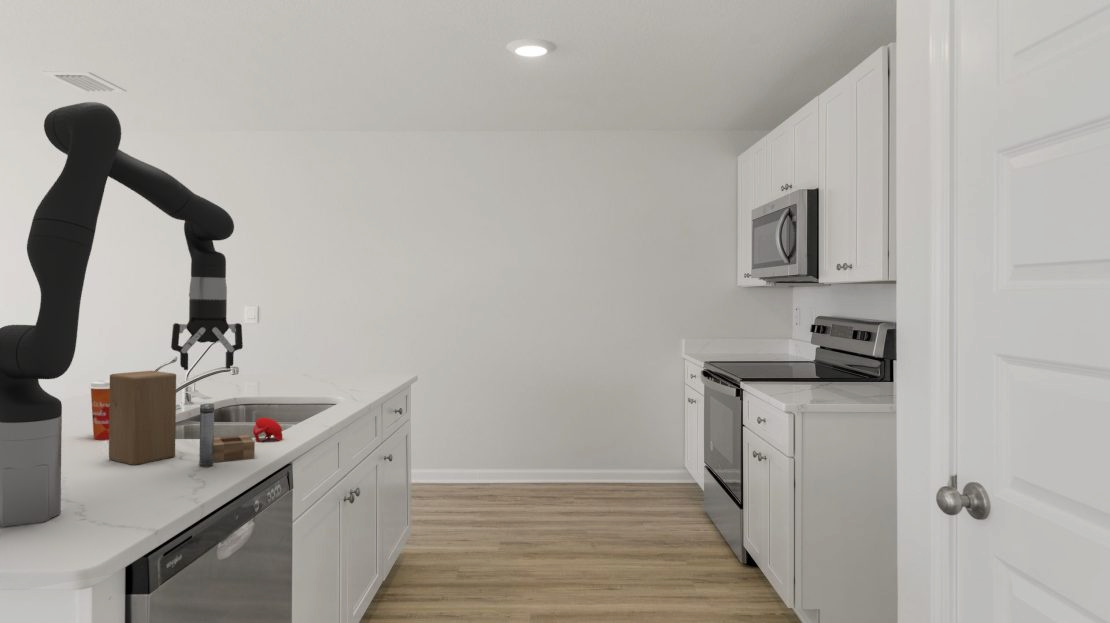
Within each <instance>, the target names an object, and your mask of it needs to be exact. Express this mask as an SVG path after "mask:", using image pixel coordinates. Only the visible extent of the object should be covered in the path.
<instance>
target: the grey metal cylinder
mask: <svg viewBox="0 0 1110 623" xmlns="http://www.w3.org/2000/svg"><path fill="white" fill-rule="evenodd" d="M214 434H215V403H201V404H200V407H199V466H198V467H199V468H210V467H213V466H214V462H213V451H214V437H215V436H214Z"/></svg>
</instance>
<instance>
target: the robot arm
mask: <svg viewBox="0 0 1110 623" xmlns="http://www.w3.org/2000/svg"><path fill="white" fill-rule="evenodd" d="M43 127H44V128H43V131H44V132H45V133H44V134H45V136H46V138H47V139H48V141H49V142H50V143H51V145H52V146H54V147H55V148H56V149H57V150H58V151H60V152H62V153H63V154H64V155H67V156H66V157H67V158H66V161H65V164H64V167H63V168H62V171H61V172H60V174H59V176H57V179H56V180H55V181H54V183H53V185H52V186H51V187H50V188H49V190H48V192H46V194H45V195H44V196H43V198H42V199H41V201H40V202H39V203H38V205H37V208H36V210H35V211H34V215H33V218H32V221H31V224H30V228H29V233H28V238H27V243H26V252H27V257H28V258H27V259H28V261H29V264H30V265H31V266H30V267H31V269H32V272H33V273H34V276H35V278H36V281H37V283H38V285H39V290H40V302H39V311H38V314H37V320H36V323H35V325H34V324H9V325H5V326H3V327H0V526H1V528H2V527H3V528H4V527H10V526H19V525H25V524H33V523H34V524H35V523H42V522H47V521H49V520H50V519H51V518H55V517H57V516H58V515H60V514H61V511H62V508H61V507H62V430H63V429H62V428H63V422H62V421H63V420H62V418H63V416H62V415H63V407H62V406H63V404H62V401H61V400H60V399H59V398H57V397H56V396H53V395H52V394H50V393H48V392H47V391H45V390H44V389H43V388H42V386H41V384H40V381H39V380H55V379H58V378H60V377H61V376H63V375H64V374H65V373H66V372H67V371H68V369H69V368H70V366H72V362H73V360H74V357H75V353H76V348H77V347H76V346H77V340H78V331H79V330H78V329H79V318H80V307H81V300H82V294H83V289H84V284H85V278H86V274H87V267H88V264H89V259H90V256H91V252H92V249H93V244H94V239H95V234H96V229H97V223H98V218H99V215H100V210H101V207H102V206H101V205H102V203H103V197H104V192H105V189H106V184H107V180H108V178H110V179H113V181H117V182H118V183H119V184H121V185H123V186H125V187H127V188H128V189H130V190H131V191H133V192H134V193H136V194H138V196H141V197H142V198H143V199H145V200H147V201H148V202H149V203H150V204H152V205H153V206H155V207H156V208H158V209H159V210H160V211H162V212H163V213H165V214H166V215H167V216H169V217H171V218H172V219H175V220H178V221H179V220H180V221H184V223H183V231H184V232H183V233H184V236H185V240H186V245H187V250H188V253H189V255H190V260H191V262H190V263H191V265H190V282H189V292H188V297H189V301H188V302H189V304H188V305H189V307H188V310H189V311H188V313H189V314H188V317H189V318H188V322H187V324H185V323H177V322H174V323H173V324H172V330H171V331H172V332H171V345H170V348H171V349H172V350H173V351H175V352H179V354H180V356H179V357H180V358H179V359H180V362H179V364H180V365H179V366H180V367H181V368H183V370H184V371H188V370H189V353H188V351H189V350H190V349H191V348H192V347H193V346H194V345H195V344H196V343H197V342H198V343H200V344H201V343H204V344H205V343H208V342H209V343H217V342H220V344H222V345H223V347H224V349H226V352H225V369H229V370H230V369H231V367H233V366H234V356H235V354H234V352H236V351H239V350H242V349H243V347H244V346H243V345H244V344H243V327H242V324H241V323H238V322H235V323H228V321H227V312H228V311H227V308H228V307H227V304H228V303H227V300H228V299H227V298H228V296H227V294H228V289H227V288H228V287H227V278H226V277H227V259H226V258H227V257H226V256H225V254H223V253H222V252H221V251H217V250H216V249H215V245H214V241H224V240H227V239H228V238H230V237H231V236H232V235H233V233H234V231H235V223H234V220H233V218H232V216H231V215H230V214H229V213H228V211H226V210H225V209H224V208H222V206H219V205H217V204H216V203H214V202H212V201H210V200H208V199H207V198H204V197H203V196H200V195H198V194H196V193H194V192H193V191H192V190H191V189H189V187H187V186H186V185H184V184H183V183H182V182H180V181H179V180H178V179H176V178H175V177H174V176H172V175H171V174H169V173H168V172H166V171H164V170H162V169H160V168H158V167H156V166H154V165H151V164H149V163H147V162H144V161H143V160H140V159H138V158H136V157H133V156H132V155H130V154H128V153H126V152H124V151H122V150H121V149H119V147H120V144H121V140H122V126H121V121H120V120H119V118H118V115H117V114H116V112H115V111H114V110H113V109H112V108H111V107H109V106H108V105H106V104H103V103H101V102H97V101H89V102H88V101H87V102H80V103H75V104H74V103H73V104H71V105H65V106H61V107H57V108H55V109H53V110H51V111H50V112H48V114H47V115H46V117H45V119H44V122H43ZM229 329H230V332H232V333H233V334H234V343H235V344H233V345H232V344H231V343H230V342H229V340H228V339H227V338H226V337H225V334H226V333H227V332H228V330H229ZM185 330H187V331H188V333H189V334H190V335H191V336H189V338H188V339H187V340H186V342H185V343H184V344H183V345H182V346H181V345H179V342H180V334H183V333H184V331H185Z"/></svg>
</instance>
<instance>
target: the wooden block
mask: <svg viewBox="0 0 1110 623" xmlns="http://www.w3.org/2000/svg"><path fill="white" fill-rule="evenodd" d="M109 380H110V398H109V440H108V458H109V460H111V461H115V462H120V463H122V464H123V463H124V464H128V465H131V466H137V465H140V464H145V463H151V462H155V461H156V462H157V461H160V460H165V459H166V460H167V459H170V458H174V457H175V456H176V422H177V421H176V419H177V418H176V412H177V407H176V406H177V374H176V373H173V372H165V371H159V370H158V371H156V370H144V371H143V370H141V371H135V372H134V371H132V372H129V371H128V372H120V373H111V374H110V375H109Z"/></svg>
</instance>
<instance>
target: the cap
mask: <svg viewBox="0 0 1110 623" xmlns="http://www.w3.org/2000/svg"><path fill="white" fill-rule="evenodd" d="M252 431H253V435H254V438H255V441H256V442H257V441H259V442H260V440H261V438H260V437H259V435H261V434H263V433H265V436H264V439H266V437H270V438H272V437H273V438H274V439H276V441H278V440H281V441H282V440H283V430H282V426H281V425H280V424H279V423H278V422H277V421H276V420H275V419H272V418H269V417H260V418H258V419H257V420H255V424H254V426H253V430H252Z"/></svg>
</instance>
